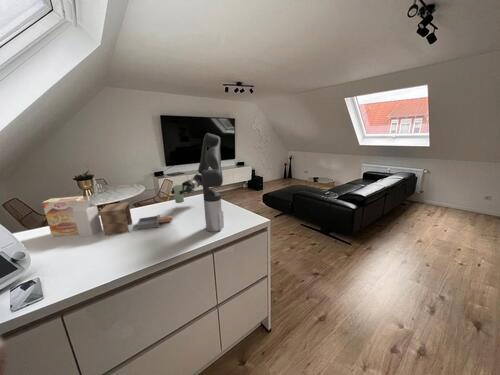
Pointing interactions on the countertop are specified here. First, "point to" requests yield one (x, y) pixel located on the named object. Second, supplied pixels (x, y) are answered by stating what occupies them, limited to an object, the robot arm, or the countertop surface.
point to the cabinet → (116, 218)
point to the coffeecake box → (61, 215)
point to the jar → (178, 194)
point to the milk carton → (87, 219)
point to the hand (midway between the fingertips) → (176, 192)
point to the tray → (152, 221)
